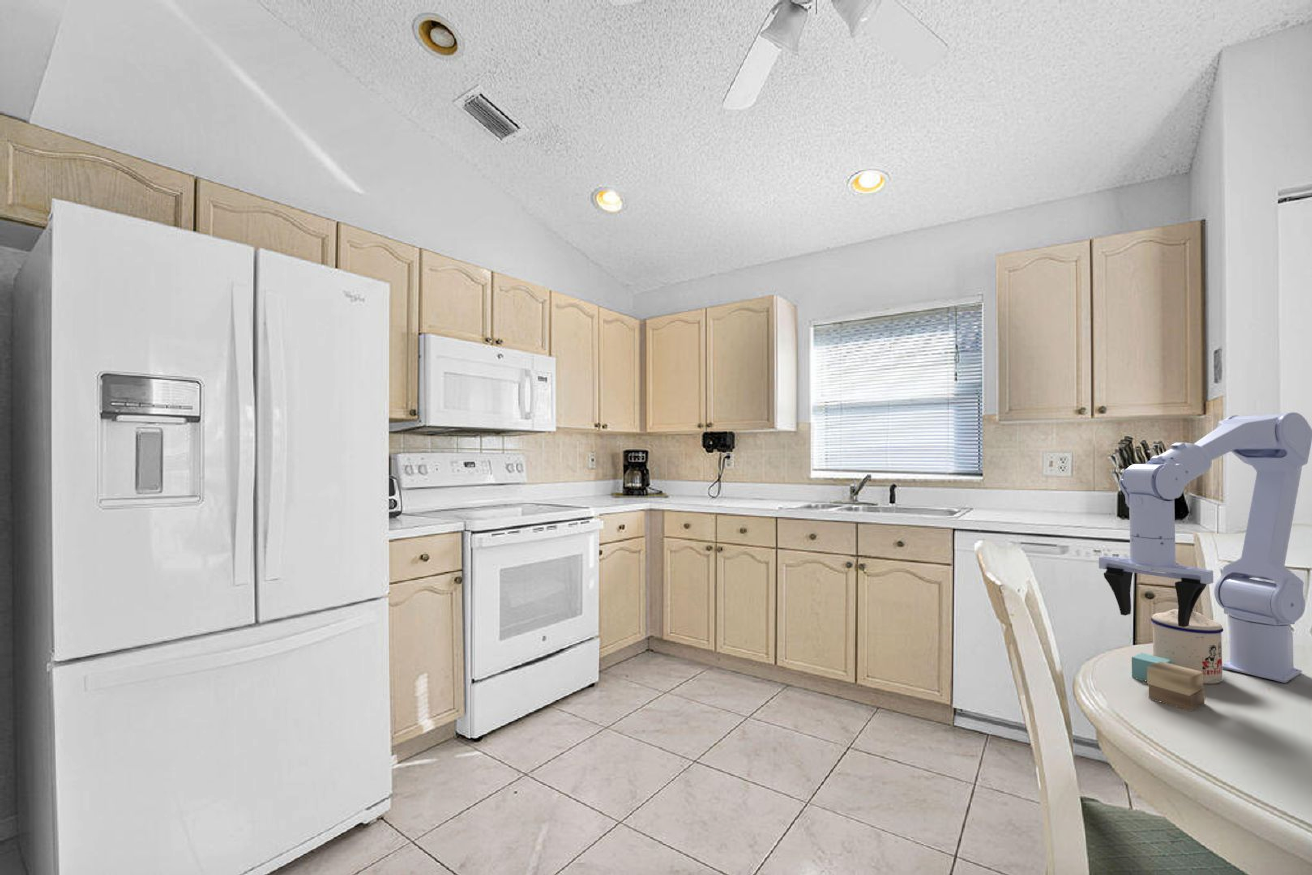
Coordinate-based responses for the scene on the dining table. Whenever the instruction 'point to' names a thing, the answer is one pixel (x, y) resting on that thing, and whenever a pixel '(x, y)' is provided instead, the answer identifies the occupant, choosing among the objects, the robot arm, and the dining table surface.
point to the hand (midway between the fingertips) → (1153, 619)
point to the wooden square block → (1177, 698)
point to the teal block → (1144, 664)
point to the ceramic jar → (1189, 643)
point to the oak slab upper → (1175, 678)
